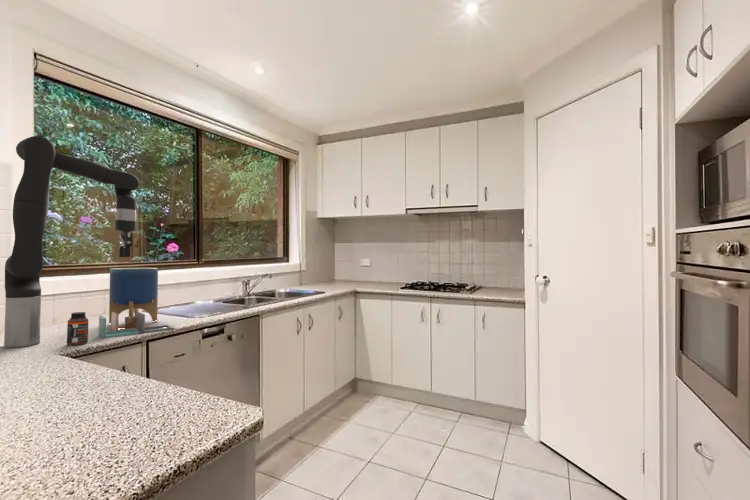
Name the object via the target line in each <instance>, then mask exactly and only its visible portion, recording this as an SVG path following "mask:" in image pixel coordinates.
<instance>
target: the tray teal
mask: <svg viewBox="0 0 750 500" xmlns="http://www.w3.org/2000/svg"><path fill="white" fill-rule="evenodd" d="M139 334H140V332H139V331H137V330H135V329H127V330H119V331H113V330H111V331H107V317H105V316H103V315H99V316H98V337H99V338H101V339H102V340H104V339H109V338H117V337H125V336H132V335H133V336H134V335H139Z"/></svg>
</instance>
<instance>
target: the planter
mask: <svg viewBox="0 0 750 500" xmlns="http://www.w3.org/2000/svg"><path fill="white" fill-rule="evenodd" d="M158 283H159V268H157V267H123V268H122V267H117V268H114V267H113V268H109V299H108V300H109V302H108V303H109V307H108V309H109V310H108V311H109V312H108V314H109V315H108V316H109V317H108V324H109V323H111V318H112V312H113V311H114V312H116V313H118V314H119V315H120V314H121V313H123V312H124V311H127V310H128V317H129V316H137V312H139V311H140V310H144V311H146V312H147V313H148V314H149V316H150V317H151V321H155V320H157V321H158V303H159V301H158V294H159V293H158V289H159V288H158V287H159V284H158ZM139 309H140V310H139Z"/></svg>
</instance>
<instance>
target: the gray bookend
mask: <svg viewBox="0 0 750 500" xmlns="http://www.w3.org/2000/svg"><path fill="white" fill-rule="evenodd" d="M145 323H146V315H145V314H144V313H142V312H137V331H139V332H140V333H141V334H147V333H157V332H164V331H165V332H166V331H172V330H173V331H174V330H175V326H171V325H169V324H165V325H163V324H162V325H155V326H149V327H145V325H146V324H145ZM163 327H167V328H163ZM140 333H139V334H140Z"/></svg>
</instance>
